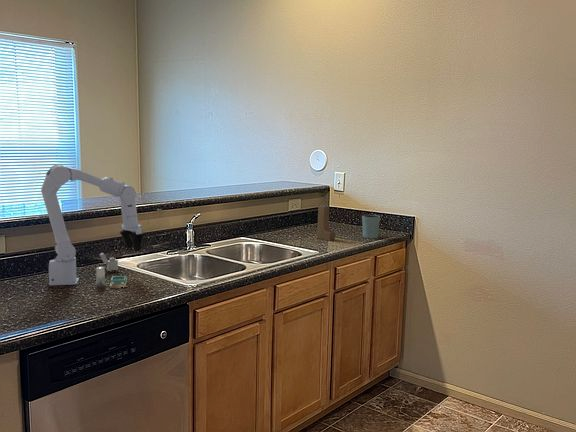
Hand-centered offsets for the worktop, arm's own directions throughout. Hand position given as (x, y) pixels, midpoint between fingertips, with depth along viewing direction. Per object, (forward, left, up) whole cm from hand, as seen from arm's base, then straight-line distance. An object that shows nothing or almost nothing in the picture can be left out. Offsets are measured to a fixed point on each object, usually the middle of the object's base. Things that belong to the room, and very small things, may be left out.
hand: (133, 249), depth 221 cm
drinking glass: (+125, +66, -11) cm, 141 cm away
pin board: (-5, -12, -11) cm, 17 cm away
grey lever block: (-10, +8, -11) cm, 17 cm away
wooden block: (+98, +62, -11) cm, 116 cm away
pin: (-11, -14, -11) cm, 21 cm away
